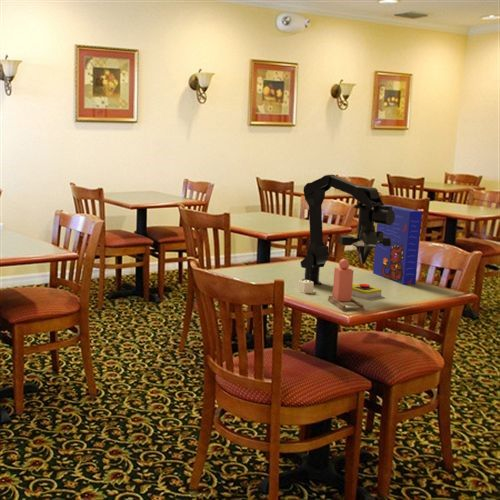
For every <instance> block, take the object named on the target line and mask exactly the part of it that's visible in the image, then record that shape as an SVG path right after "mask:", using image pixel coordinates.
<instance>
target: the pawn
mask: <svg viewBox="0 0 500 500" xmlns="http://www.w3.org/2000/svg"><path fill="white" fill-rule="evenodd" d="M338 265H339V267H334V272H333V285H332V295H331V296H332V297H333V298H335V299H336V300H338V301H351V298H352V284H354V283H353V281H354V280H353V279H354V270H353V269H352V268H350V261H349V259H347V258H341V259H340V260H339V263H338Z"/></svg>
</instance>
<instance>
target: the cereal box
mask: <svg viewBox="0 0 500 500" xmlns="http://www.w3.org/2000/svg"><path fill="white" fill-rule="evenodd" d="M384 206H392V210H393V211H394V215H395V220H394V222H393V224H392V225H384V224H377V223H376V232H378V231H382V232H383V236H386V237H388V238H390V239H391V246H383V245H382V244H380V243H377V245H375V246H376V248H374V256H373V268H372V269H373V270H372V274H373V275H377V276H379V277H381V278H384V279H387V280H389V281H392V282H395V283H398V284H401V285H403V286H406V285H416V281H417V271H418V260H419V249H420V241H421V240H420V238H421V230H422V219H423V218H422V217H423V211H420V210H417V209H416V210H415V209H411V208H407V207H401V206H396V205H391V204H384Z"/></svg>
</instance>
